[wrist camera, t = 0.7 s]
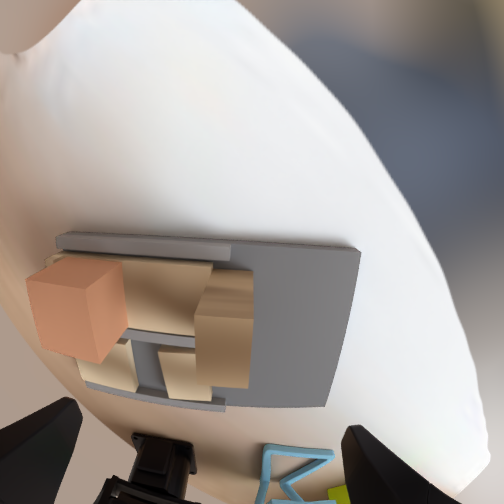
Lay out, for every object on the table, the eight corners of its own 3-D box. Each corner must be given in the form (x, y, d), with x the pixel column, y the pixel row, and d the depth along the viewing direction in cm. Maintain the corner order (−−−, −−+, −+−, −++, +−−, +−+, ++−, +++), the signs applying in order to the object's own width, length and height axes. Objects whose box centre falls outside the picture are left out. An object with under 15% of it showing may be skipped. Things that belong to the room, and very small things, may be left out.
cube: (128, 326, 17) (100, 364, 13) (75, 316, 17) (42, 348, 13) (121, 262, 16) (85, 289, 12) (66, 257, 16) (25, 279, 11)
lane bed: (322, 398, 21) (326, 413, 19) (95, 375, 21) (87, 387, 19) (356, 248, 18) (365, 255, 16) (69, 231, 17) (55, 236, 16)
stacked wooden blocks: (249, 332, 18) (247, 394, 12) (71, 309, 18) (25, 350, 12) (253, 264, 17) (254, 310, 11) (62, 250, 17) (6, 278, 11)
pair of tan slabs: (212, 395, 20) (211, 404, 19) (87, 372, 19) (82, 379, 18) (212, 346, 18) (210, 354, 17) (74, 325, 18) (68, 331, 17)
